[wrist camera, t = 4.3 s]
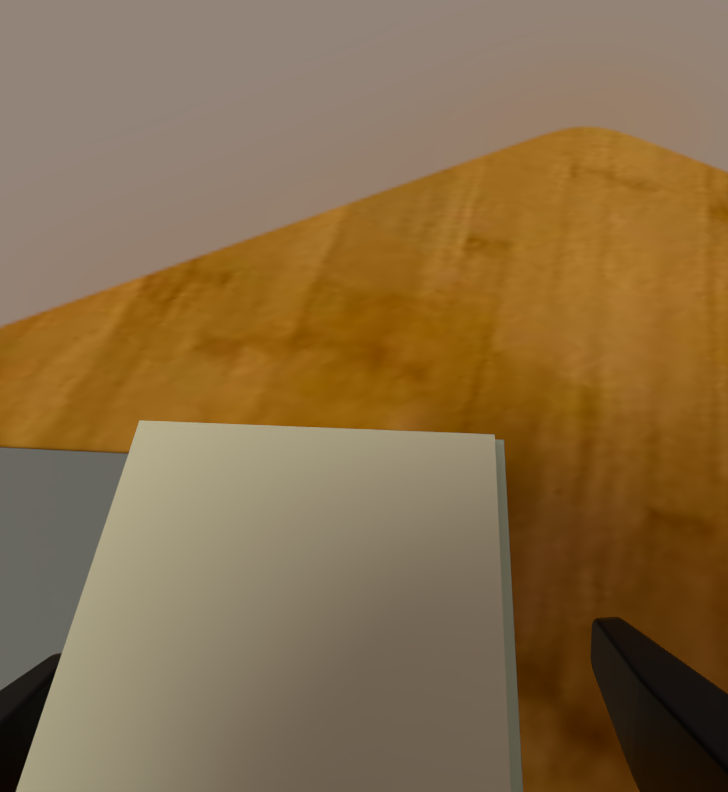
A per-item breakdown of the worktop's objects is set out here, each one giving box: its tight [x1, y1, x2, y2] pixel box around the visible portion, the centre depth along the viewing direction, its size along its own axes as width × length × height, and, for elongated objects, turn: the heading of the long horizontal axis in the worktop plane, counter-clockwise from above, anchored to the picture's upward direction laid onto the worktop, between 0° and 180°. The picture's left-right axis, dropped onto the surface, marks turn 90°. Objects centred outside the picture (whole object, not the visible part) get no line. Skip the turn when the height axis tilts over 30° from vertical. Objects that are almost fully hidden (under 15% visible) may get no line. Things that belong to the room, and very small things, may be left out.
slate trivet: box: [0, 448, 128, 690], centre depth 16 cm, size 14×14×1 cm
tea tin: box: [16, 421, 523, 792], centre depth 10 cm, size 4×4×13 cm
